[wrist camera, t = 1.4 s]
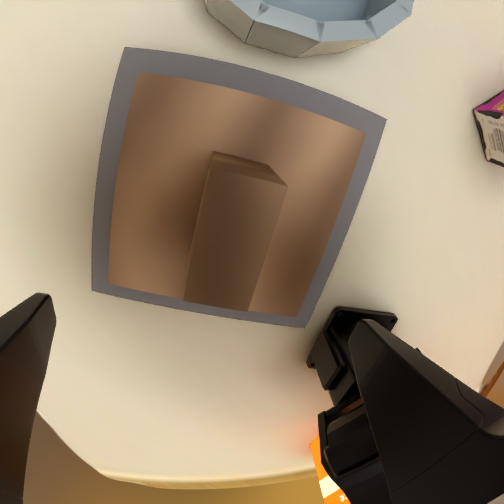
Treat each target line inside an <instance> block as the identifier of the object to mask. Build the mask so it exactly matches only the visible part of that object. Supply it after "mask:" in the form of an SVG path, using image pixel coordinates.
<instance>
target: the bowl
mask: <svg viewBox="0 0 504 504" xmlns="http://www.w3.org/2000/svg"><path fill="white" fill-rule="evenodd" d="M204 2H205V5H206V8H207V12H208V13H209V14H210V15H212V16H213V17H214V18H215V19H217V20H218V21H219V22H220V23H222V24H223V25H224V26H225V27H226V28H228V29H229V30H230V31H231V32H232V33H234V34H235V35H236V36H237V37H238V38H239V39H241V40H242V41H243V42H244V43H246V44H250V45H254V46H257V47H261V48H265V49H268V50H271V51H275V52H278V53H281V54H285V55H288V56H291V57H294V58H298V57H305V56H313V55H321V54H331V53H341V52H344V51H346V50H349V49H351V48H354V47H357V46H359V45H362V44H365V43H368V42H370V41H373V40H376V39H379V38H380V37H381V36H383V35H384V34H385V33H387V32H388V31H389V30H391V29H392V28H393V27H395V26H396V25H398V24H399V23H400V22H402V21H403V20H405V19H406V18H407V17H409V16H410V15H411V13H412V7H413V2H414V0H204Z"/></svg>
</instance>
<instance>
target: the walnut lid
mask: <svg viewBox="0 0 504 504" xmlns="http://www.w3.org/2000/svg"><path fill="white" fill-rule="evenodd" d="M365 136H366V133H364V132H362V131H360V130H357V129H355V128H352V127H350V126H347V125H345V124H342V123H340V122H337V121H335V120H332V119H329V118H327V117H324V116H321V115H318V114H316V113H313V112H310V111H307V110H304V109H301V108H298V107H295V106H292V105H289V104H286V103H282V102H279V101H276V100H272V99H269V98H265V97H262V96H258V95H255V94H251V93H247V92H243V91H239V90H235V89H231V88H227V87H223V86H218V85H214V84H209V83H204V82H199V81H194V80H188V79H183V78H177V77H171V76H164V75H158V74H150V73H142V72H138V75H137V79H136V83H135V86H134V90H133V94H132V99H131V103H130V107H129V111H128V116H127V121H126V125H125V130H124V135H123V141H122V146H121V152H120V158H119V164H118V171H117V177H116V185H115V193H114V201H113V210H112V220H111V232H110V247H109V266H108V284H112V285H116V286H121V287H125V288H130V289H135V290H139V291H144V292H149V293H154V294H159V295H164V296H169V297H174V298H179V299H183V301H185V302H191V303H196V304H202V305H208V306H213V307H219V308H225V309H231V310H238V311H244V312H248V310H249V311H255V312H262V313H269V314H276V315H283V316H290V317H297V314H298V312H299V310H300V308H301V305H302V303H303V301H304V298H305V296H306V294H307V291H308V289H309V287H310V284H311V282H312V280H313V277H314V275H315V272H316V270H317V268H318V265H319V263H320V260H321V258H322V255H323V253H324V250H325V248H326V245H327V243H328V240H329V238H330V235H331V232H332V230H333V227H334V225H335V222H336V219H337V217H338V214H339V211H340V209H341V206H342V203H343V200H344V198H345V195H346V192H347V189H348V186H349V184H350V181H351V178H352V175H353V172H354V169H355V166H356V163H357V160H358V157H359V154H360V151H361V148H362V145H363V142H364V139H365Z"/></svg>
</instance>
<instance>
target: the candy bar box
mask: <svg viewBox="0 0 504 504" xmlns="http://www.w3.org/2000/svg"><path fill="white" fill-rule="evenodd" d="M474 114H475V118H476V121H477V124H478V128H479V131H480V135H481V140H482V143H483V149H484V152H485V156H486V159H487V161H488V162H491V163H494V164H497V165H500V166H502V167H504V91H503V92H501V93H500V94H498V95H497V96H495V97H493V98H492V99H490V100H489V101H487V102H486V103H484V104H483V105H481V106H479V107H478V108H476V109H475V110H474Z"/></svg>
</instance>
